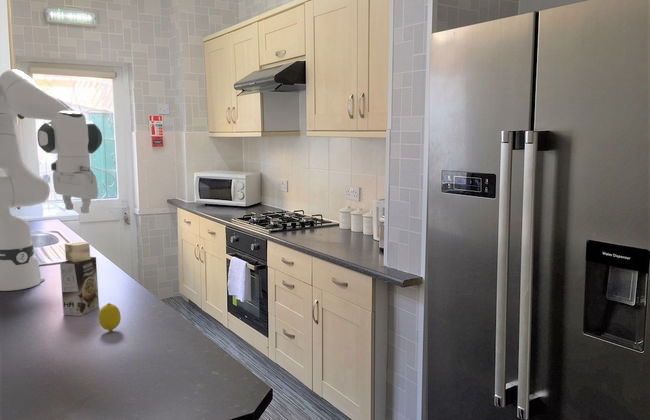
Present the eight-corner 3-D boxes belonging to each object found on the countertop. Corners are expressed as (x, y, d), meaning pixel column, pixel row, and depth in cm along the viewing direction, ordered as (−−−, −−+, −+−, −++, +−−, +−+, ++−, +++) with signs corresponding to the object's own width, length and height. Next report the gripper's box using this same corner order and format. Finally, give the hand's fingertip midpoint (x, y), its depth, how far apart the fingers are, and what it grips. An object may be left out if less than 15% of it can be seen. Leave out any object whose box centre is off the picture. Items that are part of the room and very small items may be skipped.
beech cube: (65, 260, 165) (64, 243, 165) (81, 256, 169) (80, 241, 169) (74, 262, 162) (73, 245, 162) (90, 259, 166) (89, 243, 165)
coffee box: (81, 316, 163) (78, 263, 161) (62, 315, 164) (58, 262, 162) (100, 307, 172) (96, 256, 170) (81, 305, 173) (78, 255, 171)
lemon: (125, 329, 153) (124, 301, 151) (112, 336, 147) (110, 307, 146) (109, 326, 154) (107, 299, 153) (95, 333, 149) (93, 305, 148)
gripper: (102, 167, 161) (104, 213, 163) (68, 163, 173) (71, 206, 176) (81, 168, 156) (84, 216, 158) (47, 164, 168) (51, 209, 171)
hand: (77, 211), depth 167 cm, fingers open, 8 cm apart
